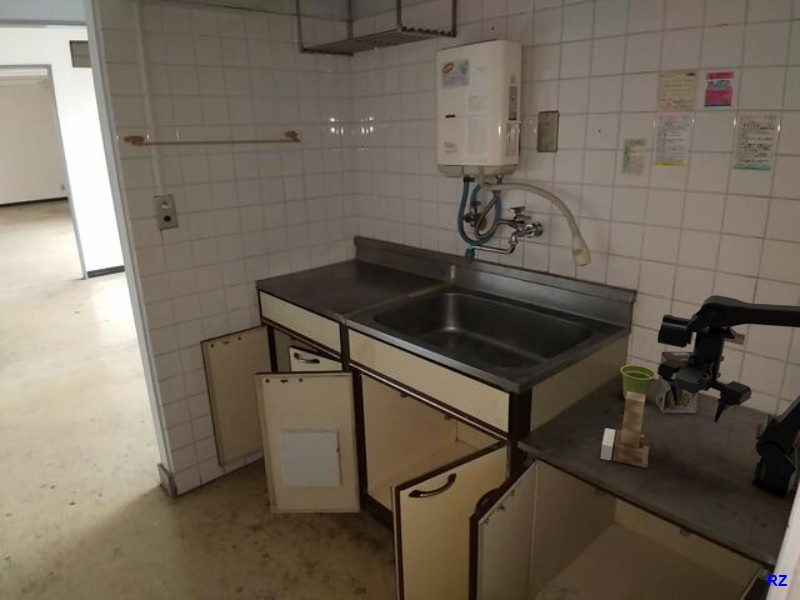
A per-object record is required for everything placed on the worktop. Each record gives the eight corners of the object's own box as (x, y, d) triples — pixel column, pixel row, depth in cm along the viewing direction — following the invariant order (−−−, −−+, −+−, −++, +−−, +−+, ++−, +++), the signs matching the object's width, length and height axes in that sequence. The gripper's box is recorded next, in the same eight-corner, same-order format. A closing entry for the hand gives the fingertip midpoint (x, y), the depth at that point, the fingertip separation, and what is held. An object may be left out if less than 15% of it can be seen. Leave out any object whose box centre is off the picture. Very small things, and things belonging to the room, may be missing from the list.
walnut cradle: (648, 450, 137) (650, 436, 136) (647, 468, 130) (649, 453, 129) (615, 443, 140) (617, 429, 139) (612, 460, 133) (614, 446, 132)
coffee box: (687, 402, 159) (695, 351, 154) (696, 414, 153) (705, 360, 148) (654, 401, 160) (661, 350, 155) (662, 413, 154) (669, 360, 149)
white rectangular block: (613, 443, 140) (615, 430, 139) (610, 460, 133) (612, 446, 132) (603, 441, 141) (605, 428, 140) (600, 458, 134) (602, 444, 133)
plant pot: (635, 388, 168) (638, 362, 165) (659, 402, 160) (663, 375, 157) (610, 394, 165) (613, 368, 162) (633, 408, 157) (637, 381, 154)
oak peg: (638, 449, 136) (645, 394, 131) (637, 457, 132) (644, 401, 128) (621, 445, 138) (627, 391, 133) (619, 453, 134) (625, 398, 129)
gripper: (648, 347, 126) (639, 407, 131) (733, 377, 112) (719, 443, 117) (675, 335, 132) (665, 394, 137) (759, 363, 118) (745, 427, 123)
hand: (696, 413), depth 128 cm, fingers open, 9 cm apart
